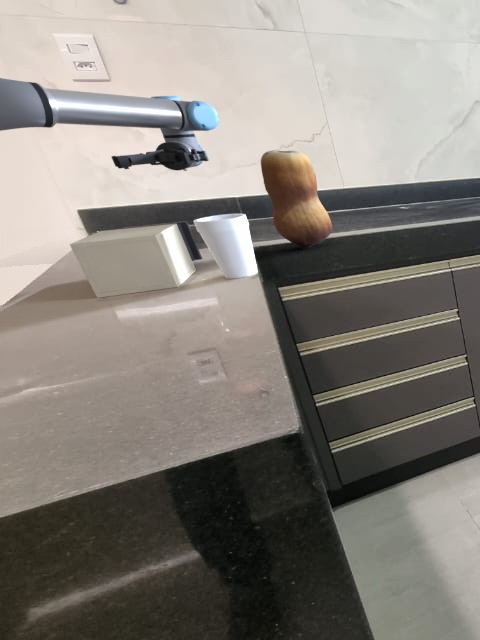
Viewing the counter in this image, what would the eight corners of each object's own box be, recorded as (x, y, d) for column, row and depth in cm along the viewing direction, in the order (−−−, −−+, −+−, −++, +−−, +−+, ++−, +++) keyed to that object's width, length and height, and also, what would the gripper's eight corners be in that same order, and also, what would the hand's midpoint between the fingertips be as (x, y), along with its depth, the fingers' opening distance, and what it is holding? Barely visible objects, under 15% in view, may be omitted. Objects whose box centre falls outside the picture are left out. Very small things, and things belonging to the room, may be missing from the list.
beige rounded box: (124, 280, 122) (100, 231, 117) (196, 270, 127) (176, 223, 122) (96, 298, 110) (69, 244, 105) (178, 287, 115) (155, 235, 110)
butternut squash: (344, 245, 146) (316, 148, 135) (290, 255, 138) (256, 153, 127) (327, 238, 155) (299, 147, 144) (275, 248, 146) (242, 151, 135)
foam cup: (209, 282, 117) (185, 223, 111) (226, 271, 125) (204, 216, 119) (258, 277, 119) (236, 219, 114) (271, 267, 127) (251, 212, 122)
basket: (150, 259, 136) (133, 222, 131) (209, 252, 140) (194, 216, 136) (119, 279, 119) (98, 238, 115) (187, 271, 123) (170, 230, 119)
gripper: (232, 165, 158) (215, 171, 141) (128, 173, 149) (96, 180, 132) (223, 138, 155) (204, 141, 137) (115, 144, 146) (81, 148, 128)
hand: (151, 160), depth 134 cm, fingers open, 13 cm apart
